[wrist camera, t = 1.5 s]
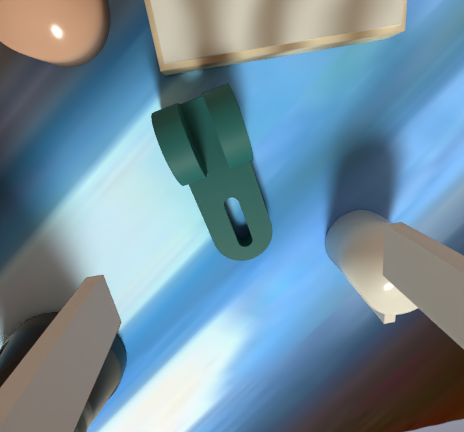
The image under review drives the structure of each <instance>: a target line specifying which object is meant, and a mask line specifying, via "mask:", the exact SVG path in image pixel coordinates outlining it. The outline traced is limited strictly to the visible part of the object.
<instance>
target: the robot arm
mask: <svg viewBox="0 0 464 432" xmlns="http://www.w3.org/2000/svg"><path fill="white" fill-rule="evenodd" d="M383 276H384V277H385V278H386V279H387V280H388V281H389V282H390V283H392V284H393V285H394V286H395V287H396V288H397V289H398V290H399V291H400V292H401V293H403V294H404V295H405V296H406V297H407V298H408V299H409V300H410V301H411V302H412V303H414V304H415V305H416V306H417V307H418V308H419V309H420V310H421V311H422V312H423V313H424V314H426V315H427V316H428V317H429V318H430V319H431V320H432V321H433V322H434V323H435V324H437V325H438V326H439V327H440V328H441V329H442V330H443V331H444V332H445V333H446V334H448V335H449V336H450V337H451V338H452V339H453V340H454V341H455V342H456V343H457V344H459V345H460V346H461V347H462V348H463V349H464V256H463V255H461V254H459V253H458V252H456V251H454V250H452V249H450V248H448V247H446V246H445V245H443V244H441V243H439V242H437V241H435V240H433V239H432V238H430V237H428V236H426V235H424V234H422V233H421V232H419V231H417V230H415V229H413V228H411V227H409V226H408V225H406V224H404V223H402V222H399V223H393V224H387V225H385V237H384V256H383ZM120 324H121V320H120V317H119V314H118V312H117V309H116V307H115V304H114V301H113V299H112V296H111V294H110V291H109V288H108V286H107V283H106V281H105V278H104V275H98V276H93V277H87V278H86V279H85V280H84V281H83V283H82V284H81V285H80V287H79V288H78V289H77V290H76V292H75V293H74V294H73V295H72V297H71V298H70V299H69V301H68V302H67V303H66V304H65V306H64V307H63V308H62V310H61V311H60V312H54V313H46V314H42V315H38V316H36V317H33V318H31V319H29V320H27V321H25V322H24V323H23V324H21V325H20V326H19V327H18V328H17V329H16V330H15V331H14V332H13V333H12V334H11V336H10V337H9V338H8V339H7V340H6V341H5V342H4V344H3V345H2V347H1V349H0V432H87V429H88V428H89V426H90V425H91V423H92V422H93V421H94V419H95V418H96V416H97V415H98V414H99V412H100V411H101V409H102V408H103V406H104V405H105V403H106V402H107V401H108V399H109V398H110V397H111V396H112V395H113V394H114V392H115V391H116V390H117V388H118V386H119V384H120V382H121V379H122V376H123V373H124V370H125V367H126V360H127V359H126V352H125V348H124V346H123V344H122V342H121V340H120V339H119V338H118V336H117V335H116V334H117V331H118V329H119V327H120Z"/></svg>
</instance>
